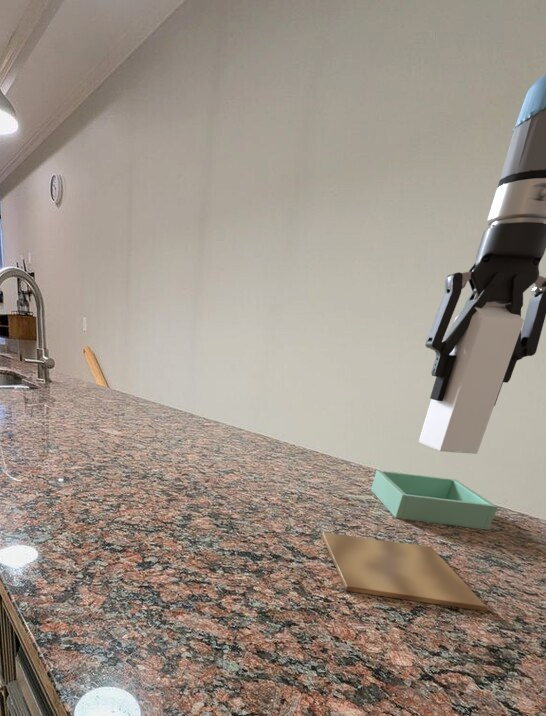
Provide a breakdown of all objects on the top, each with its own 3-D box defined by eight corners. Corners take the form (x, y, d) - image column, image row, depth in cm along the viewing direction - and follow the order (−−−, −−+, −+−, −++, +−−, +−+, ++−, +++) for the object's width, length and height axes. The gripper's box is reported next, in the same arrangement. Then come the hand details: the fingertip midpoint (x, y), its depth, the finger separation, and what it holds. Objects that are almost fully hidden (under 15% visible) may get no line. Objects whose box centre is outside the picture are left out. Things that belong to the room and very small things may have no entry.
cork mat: (430, 550, 59) (431, 546, 59) (485, 611, 46) (487, 606, 46) (321, 536, 60) (322, 532, 60) (345, 590, 47) (346, 586, 47)
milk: (417, 442, 73) (460, 294, 65) (453, 444, 74) (500, 297, 65) (440, 452, 68) (490, 290, 59) (478, 454, 68) (533, 294, 60)
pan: (448, 499, 80) (456, 479, 79) (488, 530, 68) (498, 506, 66) (370, 489, 82) (376, 469, 80) (395, 517, 69) (402, 495, 68)
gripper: (453, 215, 57) (402, 399, 66) (622, 223, 55) (547, 412, 63) (429, 228, 64) (386, 393, 72) (578, 235, 62) (516, 404, 70)
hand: (461, 401), depth 68 cm, fingers closed on milk, 7 cm apart
